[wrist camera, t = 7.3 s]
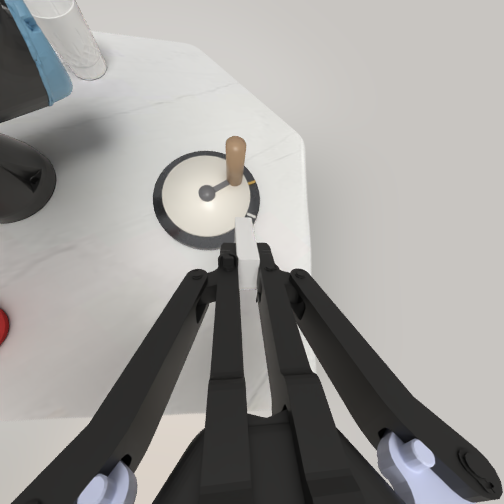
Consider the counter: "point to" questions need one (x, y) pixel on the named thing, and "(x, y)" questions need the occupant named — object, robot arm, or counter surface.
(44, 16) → the white cup
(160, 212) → the dial base
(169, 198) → the dial
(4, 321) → the canned food
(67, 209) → the counter surface
